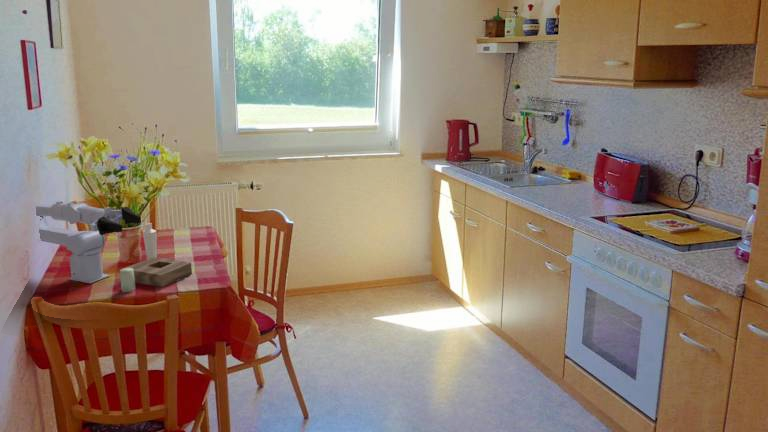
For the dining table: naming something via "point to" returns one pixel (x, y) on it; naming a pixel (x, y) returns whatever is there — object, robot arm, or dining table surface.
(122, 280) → the pale green block
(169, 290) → the dining table surface
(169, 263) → the socket board
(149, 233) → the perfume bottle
